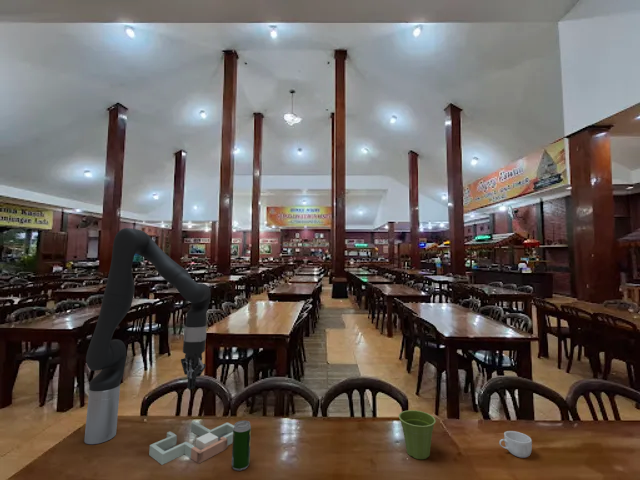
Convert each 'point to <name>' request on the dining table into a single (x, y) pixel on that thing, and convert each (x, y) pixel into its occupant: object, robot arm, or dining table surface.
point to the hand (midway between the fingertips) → (191, 388)
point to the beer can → (241, 445)
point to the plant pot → (417, 432)
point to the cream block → (206, 440)
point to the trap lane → (167, 452)
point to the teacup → (517, 443)
